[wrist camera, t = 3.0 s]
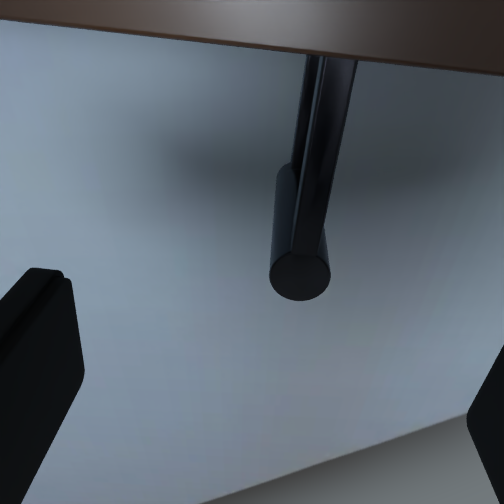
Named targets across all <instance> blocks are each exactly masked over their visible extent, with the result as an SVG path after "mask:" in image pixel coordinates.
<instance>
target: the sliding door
mask: <svg viewBox="0 0 504 504" xmlns="http://www.w3.org/2000/svg"><path fill="white" fill-rule="evenodd" d="M357 64H358V60H351V59H343V58H334V57H325V56H316V55H307V54H306V61H305V68H304V74H303V81H302V88H301V95H300V101H299V108H298V115H297V122H296V128H295V135H294V142H293V149H292V155H291V162H289V163H287V164H286V165H284V166H283V167H282V168H281V169H280V170H279V172H278V174H277V178H276V190H275V204H274V217H273V231H272V244H271V258H270V271H269V279H270V283H271V285H272V287H273V288H274V290H275V291H276V292H277V293H278V294H280V295H281V296H283V297H285V298H287V299H290V300H295V301H305V300H310V299H313V298H315V297H317V296H319V295H320V294H321V293H323V292H324V291H325V289H326V288H327V286H328V285H329V282H330V278H331V272H330V265H329V258H328V250H327V243H326V236H325V229H324V223H325V218H326V213H327V208H328V203H329V198H330V194H331V189H332V184H333V179H334V174H335V170H336V165H337V160H338V155H339V150H340V146H341V141H342V136H343V131H344V126H345V122H346V117H347V112H348V107H349V102H350V98H351V93H352V88H353V83H354V78H355V73H356V69H357Z"/></svg>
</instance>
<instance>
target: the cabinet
mask: <svg viewBox="0 0 504 504" xmlns="http://www.w3.org/2000/svg"><path fill="white" fill-rule="evenodd" d="M0 20H8V21H17V22H25V23H34V24H43V25H52V26H61V27H69V28H78V29H87V30H96V31H105V32H114V33H122V34H131V35H140V36H149V37H158V38H166V39H175V40H184V41H193V42H202V43H210V44H219V45H228V46H237V47H246V48H255V49H263V50H272V51H281V52H290V53H299V54H307V55H316V56H325V57H334V58H343V59H351V60H360V61H369V62H378V63H387V64H395V65H404V66H413V67H422V68H431V69H440V70H448V71H457V72H466V73H475V74H484V75H492V76H501V77H504V0H0Z"/></svg>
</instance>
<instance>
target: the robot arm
mask: <svg viewBox="0 0 504 504" xmlns="http://www.w3.org/2000/svg"><path fill="white" fill-rule="evenodd" d="M84 372H85V369H84V361H83V355H82V348H81V341H80V335H79V328H78V322H77V315H76V308H75V302H74V295H73V289H72V283H71V280H70V279H68V278H64V275H63V273H62V272H61V271H59V270H51V269H42V268H30V269H29V270H27V271H26V272H25V274H24V275H23V276H22V277H21V278H20V279H19V280H18V281H17V282H16V283H15V285H14V286H13V287H12V288H11V289H10V290H9V291H8V292H7V293H6V294H5V295H4V297H3V298H2V299H1V300H0V504H21V503H22V501H23V499H24V497H25V495H26V493H27V491H28V489H29V487H30V485H31V483H32V481H33V479H34V477H35V475H36V473H37V471H38V469H39V467H40V465H41V463H42V461H43V459H44V457H45V455H46V453H47V451H48V450H49V448H50V446H51V444H52V442H53V440H54V438H55V436H56V434H57V432H58V430H59V428H60V426H61V424H62V422H63V420H64V418H65V416H66V414H67V412H68V410H69V408H70V406H71V404H72V402H73V400H74V398H75V397H76V395H77V393H78V391H79V389H80V387H81V384H82V382H83V378H84ZM467 427H468V430H469V432H470V435H471V437H472V440H473V442H474V444H475V446H476V449H477V451H478V454H479V456H480V458H481V461H482V463H483V465H484V468H485V470H486V472H487V475H488V477H489V480H490V482H491V484H492V487H493V489H494V491H495V494H496V496H497V498H498V501H499V503H500V504H504V345H503V347H502V349H501V351H500V353H499V355H498V356H497V358H496V360H495V362H494V364H493V366H492V368H491V369H490V371H489V373H488V375H487V377H486V379H485V381H484V382H483V384H482V386H481V388H480V390H479V392H478V394H477V395H476V397H475V399H474V401H473V403H472V405H471V406H470V408H469V410H468V413H467Z"/></svg>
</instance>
